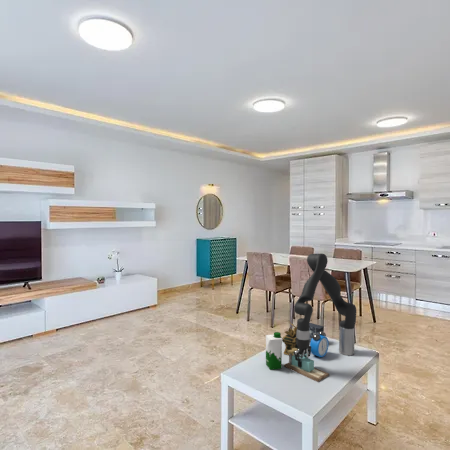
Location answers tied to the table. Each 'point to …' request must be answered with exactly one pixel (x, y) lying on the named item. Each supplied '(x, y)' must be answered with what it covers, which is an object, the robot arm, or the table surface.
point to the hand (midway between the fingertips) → (302, 365)
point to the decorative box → (290, 339)
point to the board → (313, 374)
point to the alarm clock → (319, 344)
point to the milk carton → (274, 351)
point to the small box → (315, 329)
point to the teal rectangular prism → (304, 363)
